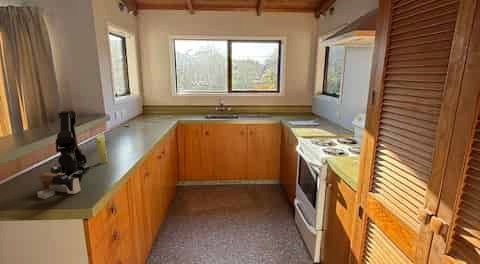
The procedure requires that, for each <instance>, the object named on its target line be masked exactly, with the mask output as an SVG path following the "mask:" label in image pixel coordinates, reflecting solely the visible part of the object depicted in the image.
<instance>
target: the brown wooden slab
mask: <svg viewBox="0 0 480 264" xmlns="http://www.w3.org/2000/svg"><path fill="white" fill-rule="evenodd" d="M64 174H65V173H63V174H61V173H58V174H57V175H64ZM54 176H56V175H55V174H52V173H51V170H48V171H47V172H44V173H42V174H39V181H40V184H41V185H40V186H41V189H42V190H44V189H47V188H49V185H50V184H60V183H52V178H53V177H54ZM70 177H71V178H72V177H73V176H72V175H71V176H70ZM73 178H74V177H73ZM81 182H83V178H82V179H81ZM49 189H50V188H49ZM42 190H41V191H42Z"/></svg>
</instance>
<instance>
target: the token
mask: <svg viewBox="0 0 480 264" xmlns="http://www.w3.org/2000/svg"><path fill="white" fill-rule="evenodd" d="M36 193H37V198H39V199H42V200H47V199H49V198H51V197H53V196H55V195H56V191H54V189H49V188H47V189H44V190H40V191H37V192H36Z"/></svg>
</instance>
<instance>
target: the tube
mask: <svg viewBox="0 0 480 264" xmlns="http://www.w3.org/2000/svg"><path fill="white" fill-rule="evenodd" d="M94 139H95V142H96V148H97V149H96V150H97V154H98V160H99V164H106V163H108V161H109V160H108V155H107V147H106V146H107V145H106V138H105V133H101V134H99V135H95V136H94Z"/></svg>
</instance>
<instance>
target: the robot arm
mask: <svg viewBox="0 0 480 264" xmlns="http://www.w3.org/2000/svg"><path fill="white" fill-rule="evenodd" d="M77 118H78V115H77V112H76V111H75V110H74V109H73V110H72V109H71V110H60V112H57V119H58V120H59V121H60V126H59V127H60V130H59V132H58V133H57V135H56V139H55V151H56V153H60V155H59V157H58V159H57V160H58V161H57V162H58V164H59V166H53V167H50V171H51V173H52V174H55V175H56V176H54V177H53V178H52V183H59V184H63V185H66V186H67V188H68V189H69V190H70V191H72V189H73V179H71V177H70V176H71V175H72V176H73V177H74V178H78V179H79V184H81V182H82V181H81V179H82V180H83V178H84V174H86V173H88V171H89V170H90V166H89V164H87V163H88V162H87V161H88V160H87V157H86V155H85V153H84V152H83V150H82V149H81V148H79V144H78V137H77V133H76V128H75V124H76V122H77ZM58 173H61V174H63V173H65V174H64V175H57V174H58Z"/></svg>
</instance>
